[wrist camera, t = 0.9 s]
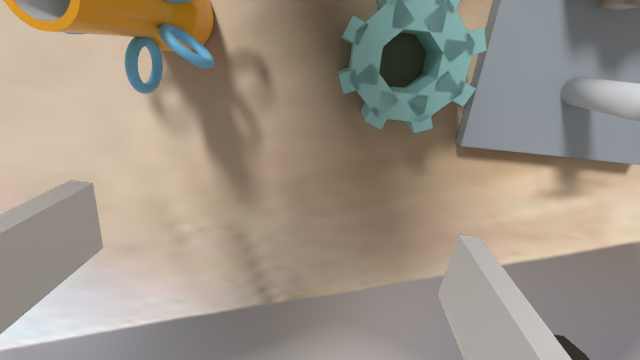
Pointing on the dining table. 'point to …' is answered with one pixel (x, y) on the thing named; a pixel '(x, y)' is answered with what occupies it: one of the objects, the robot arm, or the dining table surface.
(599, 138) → the gear board
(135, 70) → the orange post with rings
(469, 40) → the gear
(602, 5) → the gear
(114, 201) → the dining table surface
